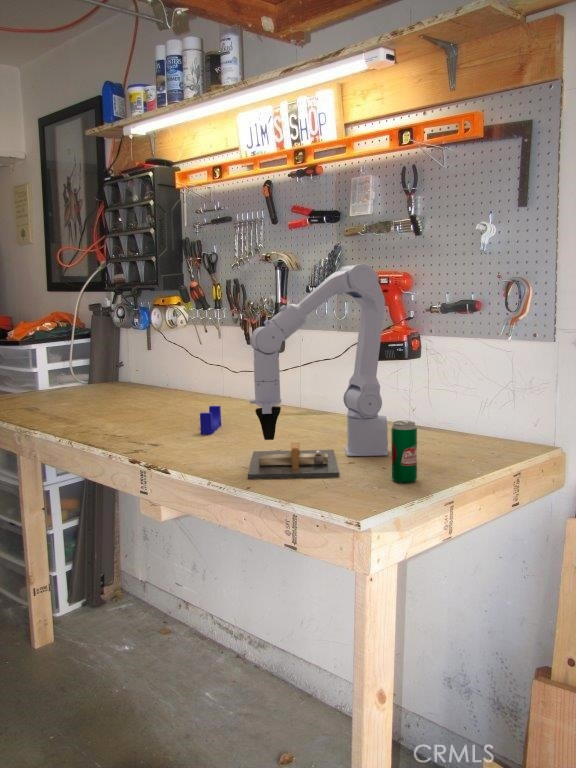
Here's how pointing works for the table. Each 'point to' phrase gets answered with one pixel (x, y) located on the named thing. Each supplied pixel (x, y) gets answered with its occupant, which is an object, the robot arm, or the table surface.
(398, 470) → the soda can
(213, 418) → the blue u-shaped block
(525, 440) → the table surface
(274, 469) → the base plate
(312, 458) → the link
